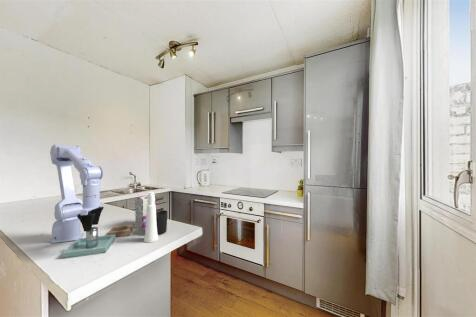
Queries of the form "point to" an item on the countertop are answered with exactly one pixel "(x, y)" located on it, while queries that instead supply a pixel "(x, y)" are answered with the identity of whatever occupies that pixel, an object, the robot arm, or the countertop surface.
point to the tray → (81, 250)
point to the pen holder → (161, 221)
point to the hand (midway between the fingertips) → (91, 227)
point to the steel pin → (92, 238)
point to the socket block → (121, 230)
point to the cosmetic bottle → (151, 220)
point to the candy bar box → (141, 211)
